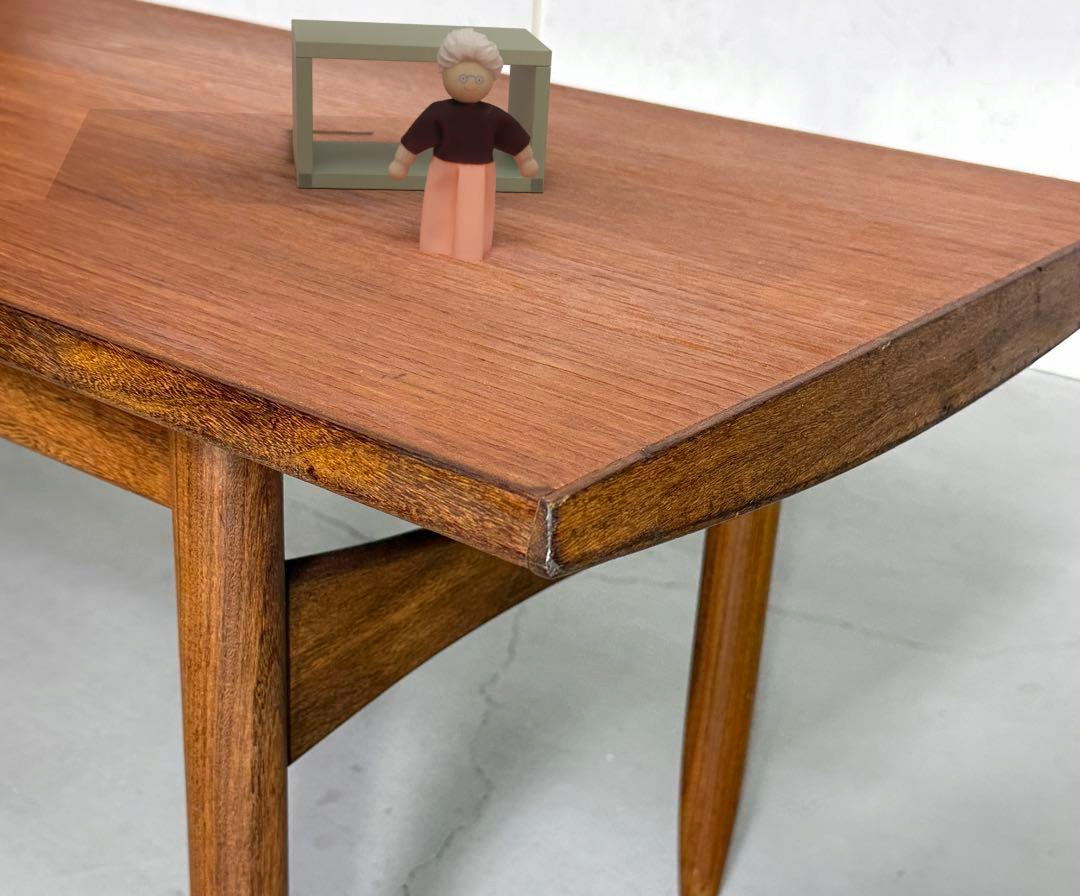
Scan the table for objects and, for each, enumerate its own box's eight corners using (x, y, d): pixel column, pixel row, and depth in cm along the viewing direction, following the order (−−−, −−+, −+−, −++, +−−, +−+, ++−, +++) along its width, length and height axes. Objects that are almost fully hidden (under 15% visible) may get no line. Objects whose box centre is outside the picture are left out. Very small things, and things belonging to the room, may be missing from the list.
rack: (297, 187, 95) (295, 40, 91) (293, 154, 104) (291, 18, 100) (543, 192, 98) (552, 50, 94) (519, 159, 106) (526, 28, 103)
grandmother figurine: (405, 294, 76) (411, 33, 70) (381, 273, 79) (384, 21, 73) (542, 284, 79) (558, 34, 73) (514, 264, 82) (527, 23, 76)
